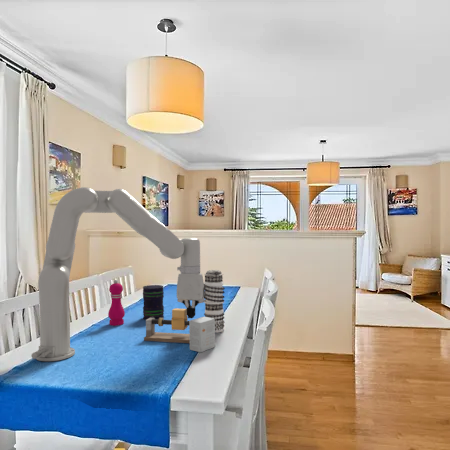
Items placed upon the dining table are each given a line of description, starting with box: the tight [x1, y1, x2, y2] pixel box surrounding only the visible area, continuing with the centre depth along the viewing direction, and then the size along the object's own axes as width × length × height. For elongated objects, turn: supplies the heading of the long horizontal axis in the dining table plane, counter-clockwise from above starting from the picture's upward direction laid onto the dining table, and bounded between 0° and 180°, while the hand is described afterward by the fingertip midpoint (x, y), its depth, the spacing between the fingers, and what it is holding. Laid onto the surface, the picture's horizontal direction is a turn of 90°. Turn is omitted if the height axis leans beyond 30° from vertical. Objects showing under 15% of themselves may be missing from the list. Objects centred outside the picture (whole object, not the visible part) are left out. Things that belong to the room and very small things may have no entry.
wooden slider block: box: [171, 307, 189, 331], centre depth 156 cm, size 4×5×7 cm
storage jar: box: [142, 284, 165, 321], centre depth 192 cm, size 10×10×15 cm
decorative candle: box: [203, 269, 226, 333], centre depth 169 cm, size 9×9×25 cm
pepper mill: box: [107, 279, 126, 327], centre depth 181 cm, size 7×7×20 cm
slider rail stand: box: [143, 318, 190, 344], centre depth 156 cm, size 8×22×8 cm, turn 78°
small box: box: [188, 316, 216, 353], centre depth 145 cm, size 8×6×10 cm
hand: (191, 317), depth 155 cm, fingers closed
